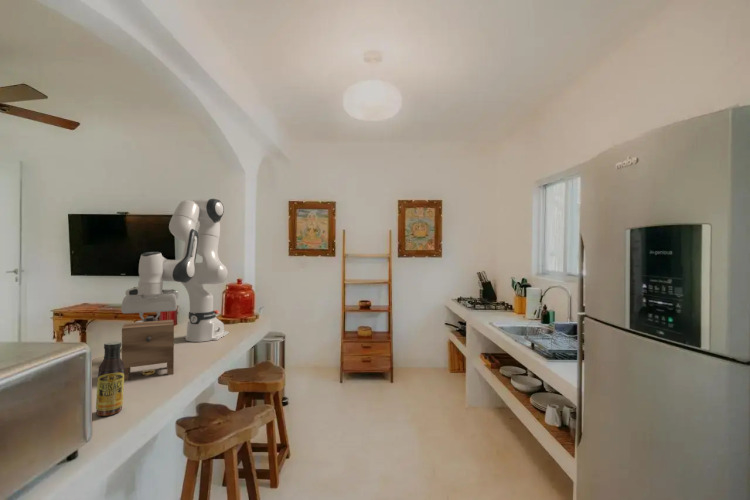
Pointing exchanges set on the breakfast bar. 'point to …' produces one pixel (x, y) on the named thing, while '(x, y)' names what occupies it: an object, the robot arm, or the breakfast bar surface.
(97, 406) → the sauce bottle
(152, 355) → the walnut cabinet
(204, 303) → the robot arm
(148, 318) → the scraper
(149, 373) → the brass disc
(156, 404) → the breakfast bar surface
